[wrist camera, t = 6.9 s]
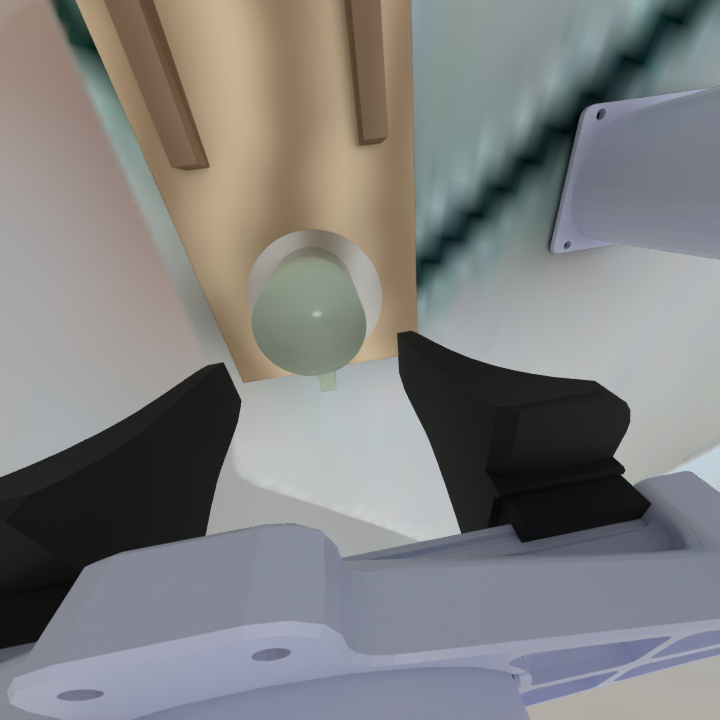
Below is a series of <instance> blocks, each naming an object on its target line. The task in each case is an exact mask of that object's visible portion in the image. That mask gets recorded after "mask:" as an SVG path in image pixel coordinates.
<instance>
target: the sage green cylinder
mask: <svg viewBox="0 0 720 720" xmlns="http://www.w3.org/2000/svg"><path fill="white" fill-rule="evenodd" d="M366 328H367V326H366V316H365V312H364V309H363V306H362V304H361V301H360V298H359V296H358V293H357V291H356V288H355V286H354V283H353V281H352V278H351V275H350V273H349V271H348V269H347V267H346V266H345V264H344V263H343V262H342V261H341V260H340V259H339V258H338V257H337V256H336V255H334V254H333V253H331V252H329V251H327V250H324V249H321V248H316V247H305V248H300V249H297V250H295V251H293V252H291V253H289V254H288V255H287V256H285V257H284V258H283V259H282V260H281V262H280V263H279V264H278V266H277V268H276V269H275V271H274V272H273V274H272V276H271V277H270V279H269V281H268V282H267V284H266V286H265V287H264V289H263V290H262V292H261V294H260V295H259V297H258V299H257V301H256V303H255V305H254V308H253V313H252V331H253V335H254V338H255V341H256V343H257V345H258V347H259V348H260V350H261V351H262V353H263V354H264V355H265V356H266V357H267V358H268V359H269V360H270V361H271V362H272V363H274V364H275V365H276V366H278V367H280V368H281V369H284V370H286V371H288V372H291V373H294V374H298V375H305V376H318V380H319V384H320V388H321V392H323V391H329V390H335V389H337V383H336V372H335V371H336V370H338V369H340V368H342V367H344V366H345V365H346V364H348V363H349V362H350V361H351V360H352V359H353V358H354V357H355V356H356V355H357V353H358V352H359V350H360V349H361V347H362V345H363V342H364V339H365V335H366Z"/></svg>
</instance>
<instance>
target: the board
mask: <svg viewBox="0 0 720 720" xmlns="http://www.w3.org/2000/svg"><path fill="white" fill-rule="evenodd" d="M76 2H77V4H78V7H79V9H80V11H81V13H82V16H83V18H84V20H85V22H86V25H87V27H88V29H89V32H90V34H91V36H92V38H93V41H94V43H95V45H96V48H97V50H98V52H99V54H100V57H101V59H102V61H103V64H104V66H105V68H106V70H107V73H108V75H109V77H110V80H111V82H112V84H113V86H114V89H115V91H116V93H117V96H118V98H119V100H120V102H121V105H122V107H123V109H124V112H125V114H126V116H127V118H128V121H129V123H130V125H131V128H132V130H133V132H134V134H135V137H136V139H137V141H138V143H139V146H140V148H141V150H142V153H143V155H144V157H145V159H146V162H147V164H148V166H149V169H150V171H151V173H152V175H153V178H154V180H155V182H156V185H157V187H158V189H159V191H160V194H161V196H162V198H163V201H164V203H165V205H166V207H167V210H168V212H169V214H170V217H171V219H172V221H173V223H174V226H175V228H176V230H177V233H178V235H179V237H180V239H181V242H182V244H183V246H184V248H185V251H186V253H187V255H188V258H189V260H190V262H191V264H192V267H193V269H194V271H195V274H196V276H197V278H198V280H199V283H200V285H201V287H202V290H203V292H204V294H205V296H206V299H207V301H208V303H209V306H210V308H211V310H212V312H213V315H214V317H215V319H216V322H217V324H218V326H219V328H220V331H221V333H222V335H223V338H224V340H225V342H226V344H227V347H228V349H229V351H230V354H231V356H232V358H233V360H234V363H235V365H236V367H237V369H238V372H239V374H240V376H241V379H242V381H243V383H246V382H252V381H258V380H263V379H269V378H275V377H280V376H286V375H292V374H294V373H291V372H288V371H286V370H284V369H281V368H280V367H278V366H276V365H275V364H274V363H272V362H271V361H270V360H269V359H268V358H267V357H266V356H265V355H264V354H263V353H262V351H261V350H260V348H259V347H258V345H257V343H256V341H255V338H254V335H253V331H252V313H253V308H254V305H255V303H256V301H257V299H258V297H259V295H260V294H261V292H262V290H263V289H264V287H265V286H266V284H267V282H268V281H269V279H270V277H271V276H272V274H273V272H274V271H275V269H276V268H277V266H278V264H279V263H280V262H281V260H282V259H283V258H284V257H285V256H287V255H288V254H289V253H291V252H293V251H295V250H297V249H300V248H305V247H316V248H321V249H324V250H327V251H329V252H331V253H333V254H334V255H336V256H337V257H338V258H339V259H340V260H341V261H342V262H343V263H344V264H345V266H346V267H347V269H348V271H349V273H350V275H351V278H352V281H353V283H354V286H355V288H356V291H357V293H358V296H359V298H360V301H361V304H362V306H363V309H364V312H365V316H366V326H367V328H366V335H365V339H364V342H363V345H362V347H361V349H360V350H359V352H358V353H357V355H356V356H355V357H354V358H353V359H352V360H351V361H350V362H349V363H348V364H346V365H349V364H355V363H360V362H366V361H372V360H377V359H383V358H389V357H394V356H398V343H397V333H400V332H406V331H414V332H416V333H417V302H416V245H415V188H414V132H413V75H412V18H411V0H76Z"/></svg>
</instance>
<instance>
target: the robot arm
mask: <svg viewBox="0 0 720 720" xmlns="http://www.w3.org/2000/svg"><path fill="white" fill-rule="evenodd" d="M598 111H599V112H600V115H599V118H598V119H597V118H596V117H597V113H598ZM566 242H567V244H566V246H565V247H564V244H565V243H566ZM614 244H622V245H629V246H635V247H641V248H648V249H654V250H660V251H667V252H673V253H680V254H686V255H692V256H699V257H705V258H711V259H718V260H720V86H718V87H714V88H707V89H699V90H692V91H685V92H678V93H671V94H664V95H657V96H650V97H643V98H635V99H628V100H621V101H614V102H607V103H600V104H594V105H591V106H588V107H587V108H585V109H584V110H583V112H582V113H581V116H580V118H579V123H578V127H577V131H576V136H575V140H574V145H573V149H572V153H571V158H570V162H569V167H568V171H567V175H566V180H565V184H564V189H563V193H562V198H561V202H560V206H559V211H558V215H557V220H556V224H555V228H554V233H553V237H552V242H551V246H550V250H551V252H553V253H556V254H559V253H565V252H571V251H578V250H584V249H590V248H596V247H602V246H608V245H614ZM397 343H398V360H399V374H400V377H401V380H402V383H403V386H404V389H405V392H406V394H407V396H408V398H409V400H410V402H411V404H412V406H413V408H414V410H415V412H416V414H417V416H418V418H419V420H420V422H421V424H422V426H423V428H424V430H425V432H426V434H427V436H428V439H429V441H430V443H431V446H432V449H433V452H434V454H435V457H436V460H437V462H438V465H439V468H440V471H441V474H442V477H443V479H444V482H445V485H446V488H447V491H448V494H449V497H450V500H451V503H452V506H453V509H454V512H455V515H456V518H457V521H458V525H459V528H460V531H461V534H458V535H453V536H448V537H443V538H438V539H433V540H428V541H423V542H418V543H413V544H408V545H404V546H398V547H394V548H389V549H383V550H379V551H374V552H369V553H363V554H358V555H354V556H348V557H343V558H341V555H340V552H339V549H338V547H337V546H336V545H335V544H334V543H333V542H332V541H331V540H330V539H329V538H328V537H327V536H326V535H325V534H324V533H323V532H322V531H320V530H319V529H315V528H311V527H307V526H304V525H300V524H296V523H286V524H268V525H267V524H266V525H260V526H255V527H249V528H244V529H239V530H234V531H229V532H224V533H218V534H213V535H208V536H206V530H207V525H208V520H209V515H210V510H211V505H212V501H213V497H214V493H215V488H216V484H217V480H218V477H219V474H220V470H221V468H222V465H223V462H224V459H225V456H226V454H227V451H228V448H229V446H230V443H231V440H232V437H233V434H234V431H235V429H236V426H237V423H238V418H239V413H240V407H241V399H240V397H239V394H238V392H237V390H236V388H235V386H234V384H233V382H232V379H231V377H230V375H229V373H228V371H227V369H226V366H225V364H224V362H223V363H217V364H212V365H208V366H206V367H204V368H202V369H200V370H199V371H197V372H196V373H194V374H193V375H191V376H190V377H188V378H187V379H185V380H184V381H183V382H181V383H179V384H178V385H176V386H175V387H174V388H172V389H171V390H169V391H168V392H166V393H165V394H163V395H162V396H160V397H159V398H157V399H156V400H154V401H153V402H151V403H150V404H148V405H147V406H145V407H144V408H142V409H141V410H139V411H137V412H136V413H134V414H132V415H131V416H129V417H127V418H126V419H124V420H122V421H121V422H119V423H117V424H115V425H113V426H111V427H110V428H108V429H106V430H104V431H102V432H100V433H98V434H97V435H94V436H92V437H90V438H88V439H86V440H84V441H82V442H80V443H78V444H76V445H74V446H72V447H70V448H68V449H66V450H64V451H62V452H60V453H57V454H55V455H53V456H50V457H48V458H46V459H44V460H41V461H39V462H37V463H35V464H32V465H30V466H28V467H25V468H22V469H20V470H18V471H15V472H13V473H10V474H8V475H5V476H3V477H0V720H530V718H529V716H528V713H527V711H526V707H529V706H533V705H537V704H541V703H544V702H548V701H551V700H555V699H559V698H562V697H566V696H570V695H573V694H577V693H581V692H584V691H588V690H591V689H595V688H599V687H603V686H606V685H610V684H614V683H617V682H621V681H624V680H628V679H632V678H636V677H639V676H643V675H646V674H651V673H654V672H658V671H662V670H665V669H669V668H673V667H677V666H681V665H685V664H689V663H693V662H696V661H700V660H704V659H708V658H712V657H716V656H720V493H719V492H718V491H717V490H715V489H714V488H713V487H711V486H710V485H709V484H707V483H706V482H705V481H703V480H702V479H701V478H699V477H698V476H697V475H695V474H694V473H692V472H689V471H684V472H678V473H673V474H668V475H663V476H658V477H653V478H648V479H645V480H642V481H640V482H639V483H637V484H635V485H634V486H632V485H631V484H630V483H629V482H628V481H627V480H626V479H625V478H624V477H622V476H621V474H624V472H625V468H624V466H623V465H621V464H620V463H619V462H618V461H617V460H616V459H615V458H614V457H613V455H614V453H615V451H616V450H617V448H618V446H619V444H620V442H621V441H622V439H623V437H624V435H625V433H626V431H627V429H628V426H629V424H630V409H629V407H628V405H627V403H626V402H625V401H623V400H622V399H620V398H619V397H618V396H616V395H615V394H613V393H612V392H610V391H609V390H607V389H606V388H605V387H603V386H602V385H600V384H599V383H597V382H596V381H590V380H579V379H569V378H558V377H550V376H543V375H537V374H530V373H525V372H520V371H515V370H510V369H506V368H502V367H498V366H494V365H490V364H487V363H484V362H481V361H478V360H475V359H471V358H469V357H466V356H463V355H461V354H459V353H456V352H454V351H452V350H449V349H447V348H445V347H443V346H441V345H439V344H437V343H435V342H433V341H431V340H429V339H427V338H425V337H424V336H422V335H420V334H418V333H416V332H414V331H406V332H400V333H397Z"/></svg>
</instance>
